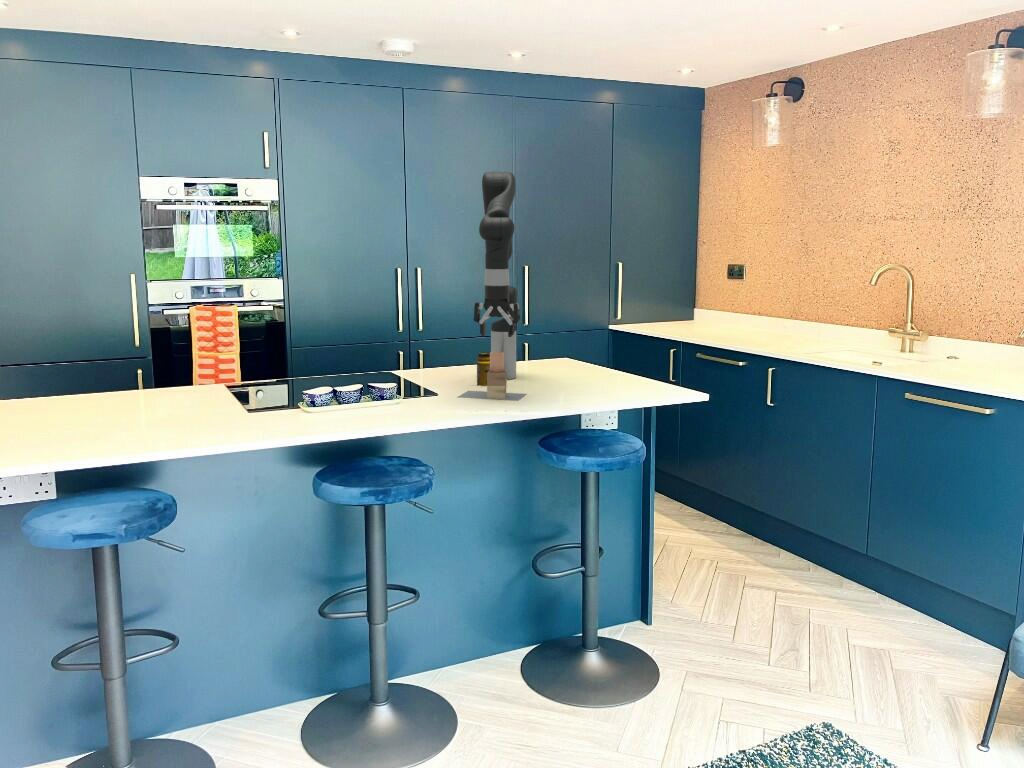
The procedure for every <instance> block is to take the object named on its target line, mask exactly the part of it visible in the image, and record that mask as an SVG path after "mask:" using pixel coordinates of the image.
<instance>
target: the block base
mask: <svg viewBox="0 0 1024 768" xmlns="http://www.w3.org/2000/svg"><path fill="white" fill-rule="evenodd" d="M486 392H487V398H489V399H488V400H493V399H505V397H506V393H507V384H506V385H505V386H486Z"/></svg>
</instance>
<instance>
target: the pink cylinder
mask: <svg viewBox="0 0 1024 768" xmlns="http://www.w3.org/2000/svg"><path fill="white" fill-rule="evenodd" d="M489 353H490V372H492V373H502V372H504V352H491V351H490V352H489Z"/></svg>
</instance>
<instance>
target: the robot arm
mask: <svg viewBox="0 0 1024 768" xmlns="http://www.w3.org/2000/svg"><path fill="white" fill-rule="evenodd" d="M516 183H517V182H516V177H515V175H514V173H513V172H511V171H487V172H484V173H483V175H482V179H481V188H482V189H481V190H482V200H483V210H484V216H483V217H482V219H481V221H480V223H479V227H478V231H479V236H480V237H481V238H482V240H484V241H485V264H484V265H485V267H484V268H485V271H484V280H483V282H484V301H483V302H480V301H477V302H475V303H474V309H473V322H474V323H478V324H479V333H480V335H481V336H482V337H486V336H487V323H486V322H487V321H488V319H489V318H490V317H491V318H495V317H496V318H497V317H498V318H501V319H499V320H495V321H494V322H492V323H491V325H490V352H504V371H507V375H506V380H512V379H516V378H517V324H518V323H520V322H521V311H520V310H521V309H520V308H521V307H520V303H519V302H518V291H517V288H516V286H512V285H511V286H510V274H509V261H510V259H511V257H512V255H513V236H514V234H515V223H514V221H513V220H512V219H511V218H510V211H511V207H512V204H513V202H514V198H515V197H516V196H515V195H516V188H517V187H516V186H517V185H516ZM482 309H484V310H485V312H484V314H483V315H482V317H481V310H482Z"/></svg>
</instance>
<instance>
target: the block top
mask: <svg viewBox="0 0 1024 768" xmlns="http://www.w3.org/2000/svg"><path fill="white" fill-rule="evenodd" d="M506 375H507V371H504V372H502V373H492V372H490V370H489V371H488V372H487V386H505V385H506V386H507V379H506ZM487 386H486V387H487Z"/></svg>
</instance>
